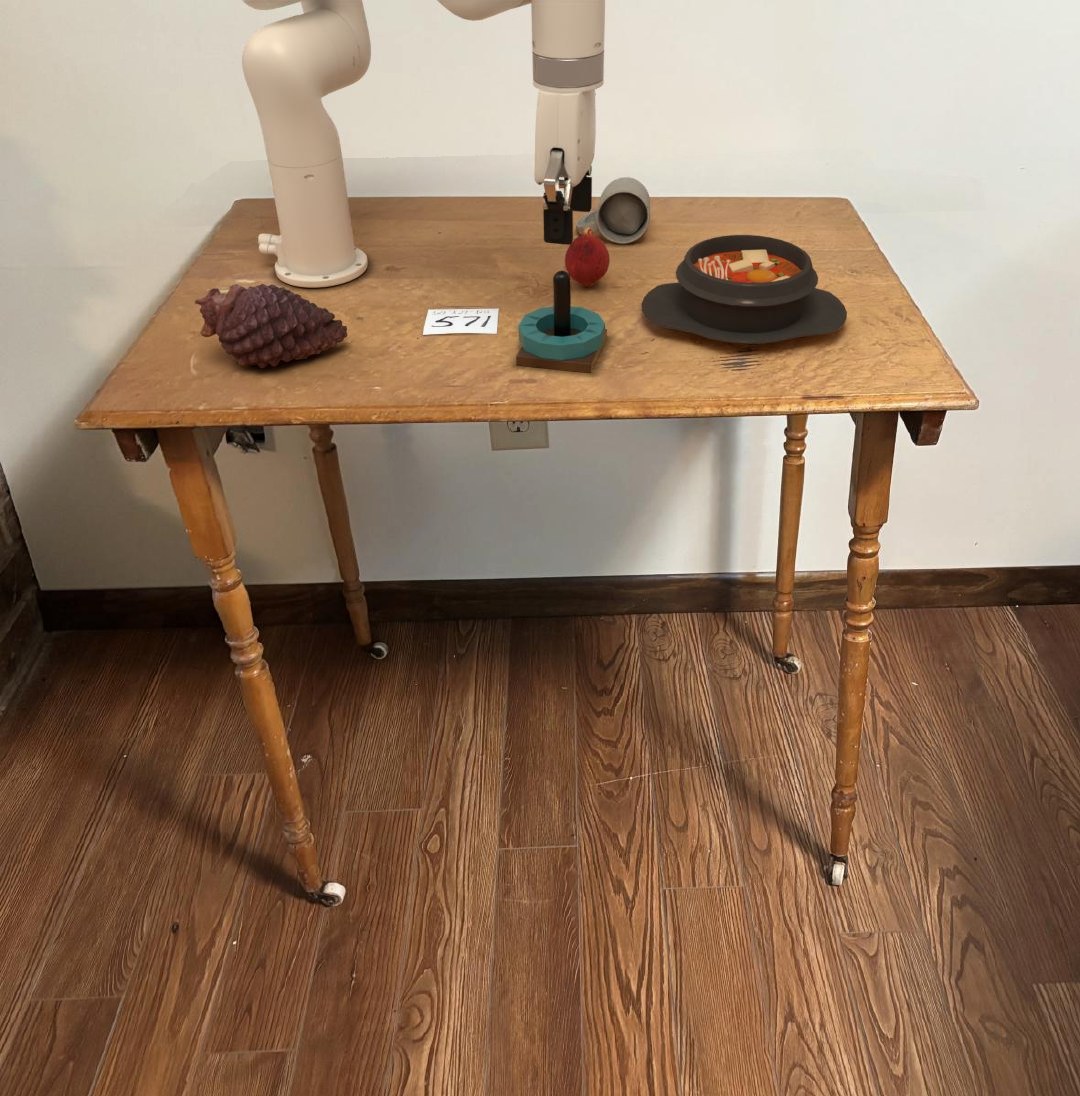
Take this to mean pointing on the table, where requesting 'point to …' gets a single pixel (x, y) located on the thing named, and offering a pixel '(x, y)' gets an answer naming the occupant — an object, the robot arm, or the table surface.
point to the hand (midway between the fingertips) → (568, 226)
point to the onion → (587, 259)
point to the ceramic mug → (620, 212)
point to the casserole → (745, 293)
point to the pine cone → (268, 324)
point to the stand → (561, 332)
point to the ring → (561, 346)
